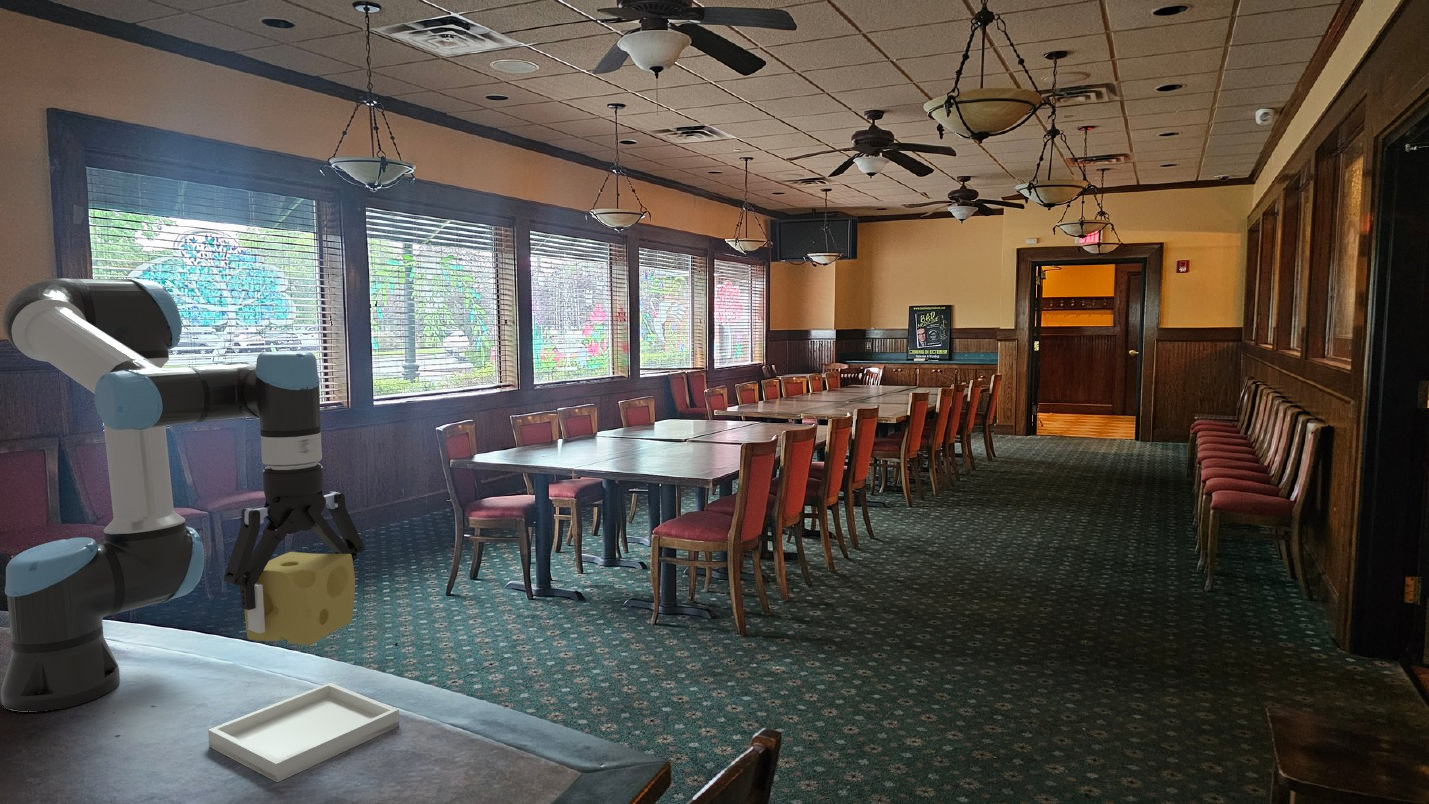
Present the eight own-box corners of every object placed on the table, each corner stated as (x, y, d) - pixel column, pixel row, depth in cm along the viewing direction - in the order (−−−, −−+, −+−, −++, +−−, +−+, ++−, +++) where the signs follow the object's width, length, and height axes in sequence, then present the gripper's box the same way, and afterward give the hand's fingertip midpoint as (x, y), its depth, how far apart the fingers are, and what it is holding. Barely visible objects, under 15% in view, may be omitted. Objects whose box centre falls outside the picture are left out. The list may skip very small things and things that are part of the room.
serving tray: (209, 746, 125) (208, 729, 125) (330, 697, 141) (330, 682, 140) (277, 782, 116) (276, 763, 116) (399, 725, 132) (398, 709, 131)
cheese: (311, 647, 120) (307, 574, 119) (241, 641, 123) (236, 569, 121) (358, 620, 130) (354, 552, 129) (292, 615, 133) (288, 548, 132)
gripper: (218, 482, 112) (228, 650, 114) (386, 454, 132) (392, 598, 134) (187, 475, 116) (198, 638, 118) (354, 449, 136) (360, 589, 138)
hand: (301, 617), depth 126 cm, fingers closed on cheese, 12 cm apart
